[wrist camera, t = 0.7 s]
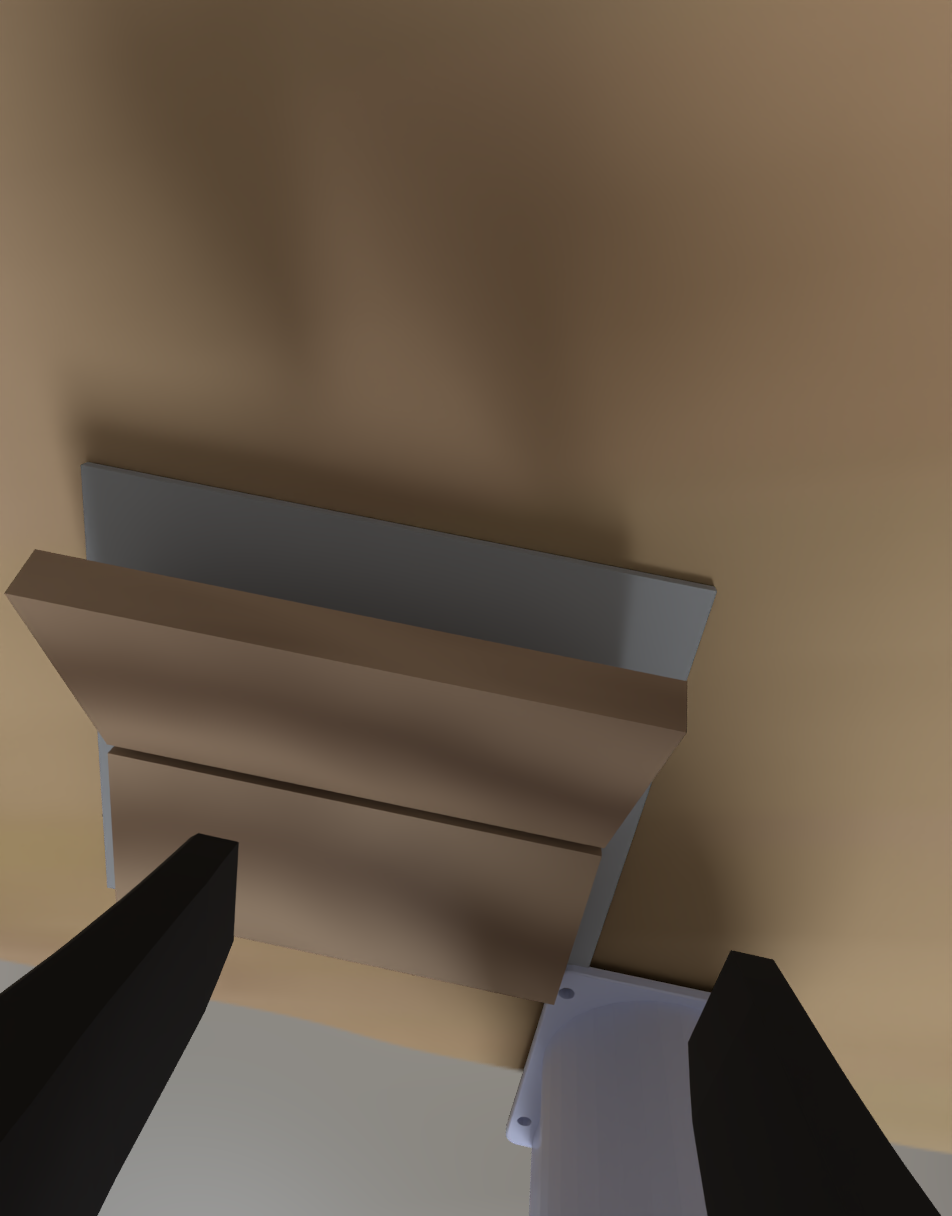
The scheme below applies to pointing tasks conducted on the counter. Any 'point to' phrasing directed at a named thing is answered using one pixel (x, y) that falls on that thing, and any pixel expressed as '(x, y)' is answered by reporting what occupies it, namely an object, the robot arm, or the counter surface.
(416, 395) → the counter surface
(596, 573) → the plate
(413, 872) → the laid plank
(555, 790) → the board
